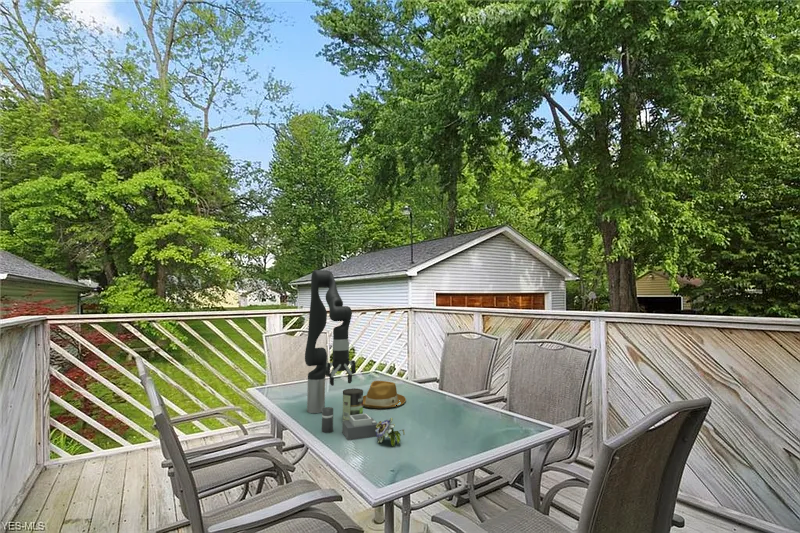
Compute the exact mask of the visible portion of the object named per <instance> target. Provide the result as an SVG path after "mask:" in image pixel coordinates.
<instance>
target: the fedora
mask: <svg viewBox="0 0 800 533" xmlns="http://www.w3.org/2000/svg"><path fill="white" fill-rule="evenodd" d="M399 400H400V401H399ZM406 401H407V399H406V397H405V396H404V395H402V394H399V393H398V391H397V386H396V383H395V382H392V381H386V380H374V381H371V384H370V386H369V388H368V391H367V393H366V395H363V407H365V408H369V409H378V410H379V409H390V408H396V407H400V406H402V405H403V404H404V403H406ZM399 402H401V404H400V405H397V404H398V403H399ZM395 405H397V406H395Z"/></svg>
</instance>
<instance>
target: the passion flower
mask: <svg viewBox="0 0 800 533" xmlns="http://www.w3.org/2000/svg"><path fill="white" fill-rule="evenodd" d="M393 420H394V418H393V417H390V419H385V420H384V421H382V420H380V421H378V422H377V423H378V424H377V426H376V430H375V431H376V435H377V436H376V438H377V440H378V441H377V442H376V443H377V444H380V443H383V442H384V440H385V438H388V439H390V444H391V447H393V448H395V445H396V443H397V445H400V442H401V436H402V435H401V433H400V432H401V431H402V434H403V436H405V435H406V434H405V429H399V430H394V428H395V426H396V424H395V423H393Z"/></svg>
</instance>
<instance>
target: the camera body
mask: <svg viewBox="0 0 800 533" xmlns="http://www.w3.org/2000/svg"><path fill="white" fill-rule="evenodd" d="M341 423H342V426H341V428H342V430H341V431H342V432H341V433H342V434H343V435H344V437H345V438H346V440H347V441H350V440H357V439H358V440H359V439H364V438H365V439H366V438H373V437H377V435H376V431H375V430H376V426H377V424H378V423H379V422H377V420H375V418H373V417H370V416H369V415H368V413H363V414H357V415H349V420H347V421H343V420H342V422H341Z"/></svg>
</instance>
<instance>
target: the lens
mask: <svg viewBox="0 0 800 533" xmlns="http://www.w3.org/2000/svg"><path fill="white" fill-rule="evenodd" d="M321 417H322V418H321V433H323V434H331V433H332V432H334V407H330V406H329V407H328V406H327V407H326V406H325V408H323V409H322V412H321Z"/></svg>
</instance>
